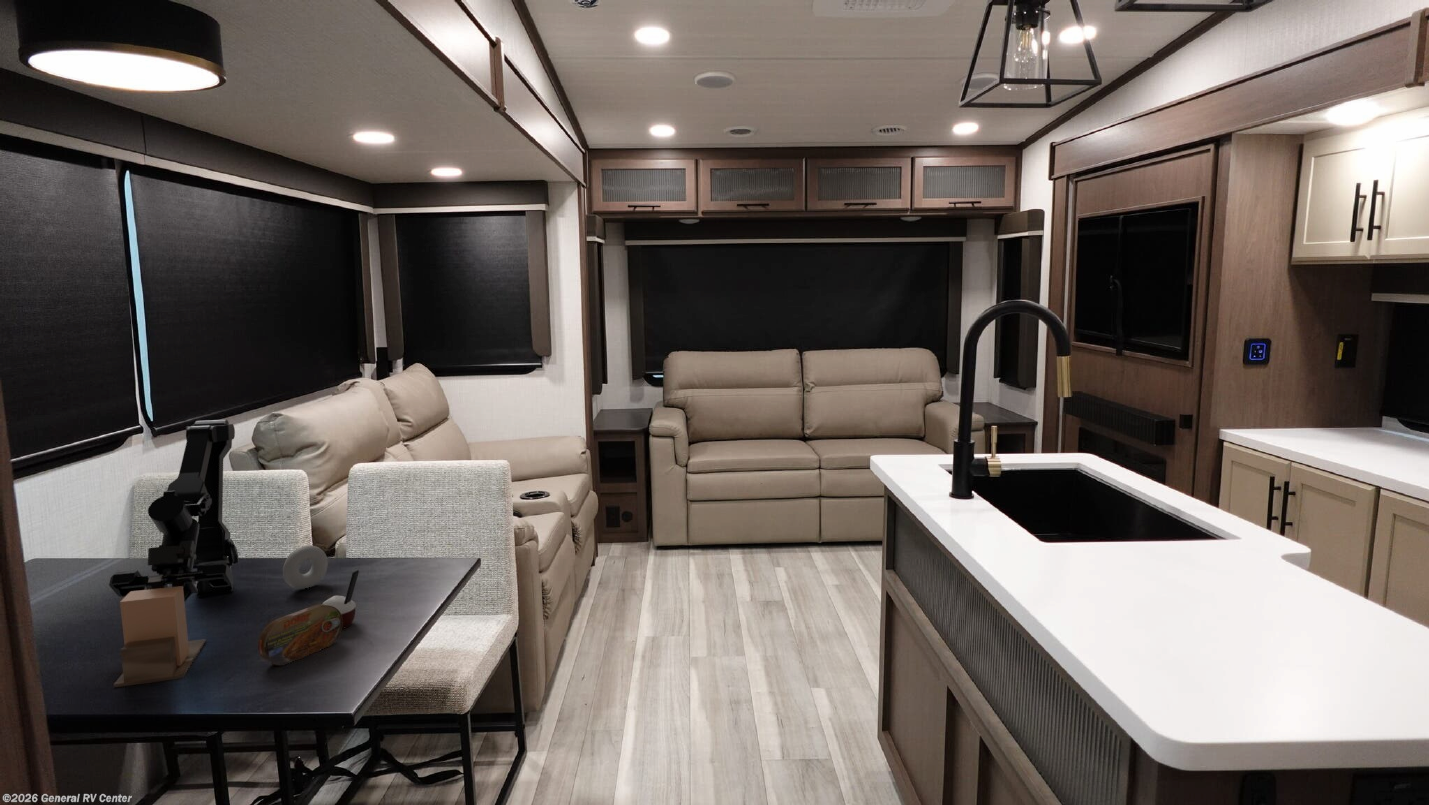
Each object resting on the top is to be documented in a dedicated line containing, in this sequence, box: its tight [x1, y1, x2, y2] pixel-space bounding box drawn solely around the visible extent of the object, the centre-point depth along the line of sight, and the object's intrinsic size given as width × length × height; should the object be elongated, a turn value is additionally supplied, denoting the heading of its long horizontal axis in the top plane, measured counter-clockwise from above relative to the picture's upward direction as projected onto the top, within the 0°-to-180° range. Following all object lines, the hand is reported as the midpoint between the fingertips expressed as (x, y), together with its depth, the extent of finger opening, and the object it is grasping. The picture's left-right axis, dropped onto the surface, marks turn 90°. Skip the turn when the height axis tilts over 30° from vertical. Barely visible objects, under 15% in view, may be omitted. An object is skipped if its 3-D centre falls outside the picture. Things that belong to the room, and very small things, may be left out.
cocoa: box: [321, 569, 360, 629], centre depth 156 cm, size 10×6×12 cm, turn 54°
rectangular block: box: [119, 586, 189, 666], centre depth 138 cm, size 5×8×13 cm, turn 110°
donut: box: [282, 544, 329, 590], centre depth 176 cm, size 10×4×10 cm, turn 147°
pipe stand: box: [113, 637, 207, 688], centre depth 140 cm, size 15×10×7 cm, turn 20°
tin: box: [258, 603, 343, 666], centre depth 144 cm, size 15×3×8 cm, turn 148°
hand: (166, 621), depth 143 cm, fingers closed
